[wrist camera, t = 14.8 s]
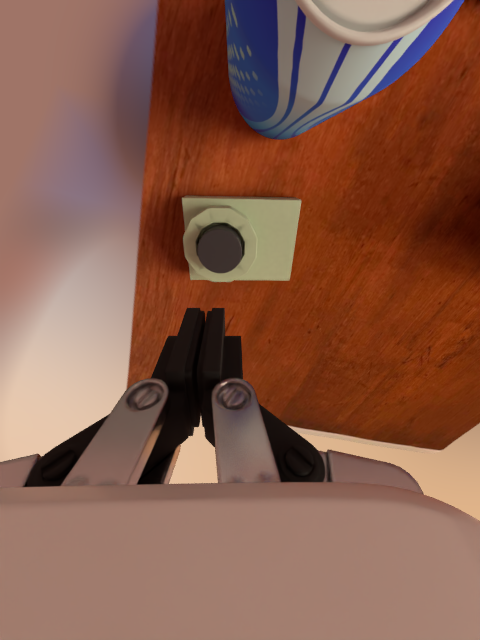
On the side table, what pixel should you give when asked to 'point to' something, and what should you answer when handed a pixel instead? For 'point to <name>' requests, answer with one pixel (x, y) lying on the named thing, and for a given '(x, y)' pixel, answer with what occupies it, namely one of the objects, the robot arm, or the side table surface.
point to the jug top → (244, 234)
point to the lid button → (219, 249)
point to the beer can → (322, 55)
